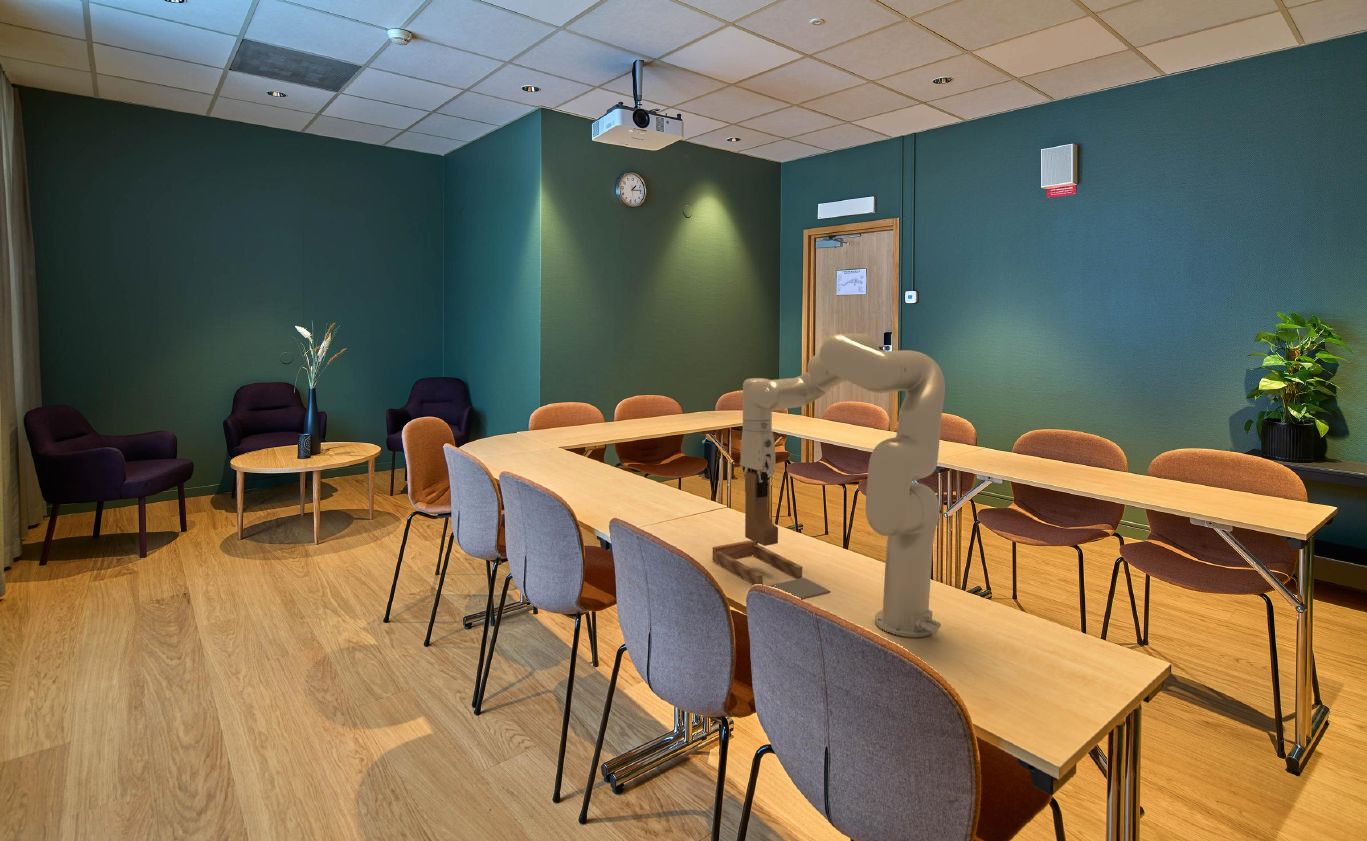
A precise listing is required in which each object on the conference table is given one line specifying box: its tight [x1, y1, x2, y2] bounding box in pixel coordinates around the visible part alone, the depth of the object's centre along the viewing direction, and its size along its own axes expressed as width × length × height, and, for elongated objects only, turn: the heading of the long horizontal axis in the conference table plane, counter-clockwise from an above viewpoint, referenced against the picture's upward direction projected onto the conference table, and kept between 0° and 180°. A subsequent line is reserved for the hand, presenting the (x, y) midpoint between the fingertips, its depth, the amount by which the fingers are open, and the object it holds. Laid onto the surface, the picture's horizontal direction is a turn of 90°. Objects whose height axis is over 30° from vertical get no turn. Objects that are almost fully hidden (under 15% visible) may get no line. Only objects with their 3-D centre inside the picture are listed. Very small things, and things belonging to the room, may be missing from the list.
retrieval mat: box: [767, 577, 831, 600], centre depth 173 cm, size 10×14×1 cm
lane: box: [711, 539, 803, 586], centre depth 188 cm, size 22×14×4 cm, turn 29°
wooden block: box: [744, 470, 779, 547], centre depth 184 cm, size 9×4×18 cm, turn 29°
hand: (756, 493), depth 186 cm, fingers closed on wooden block, 4 cm apart
